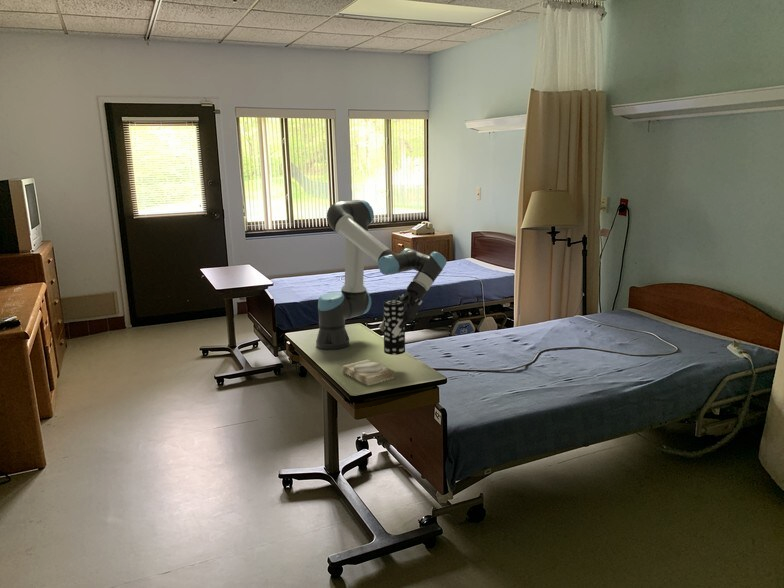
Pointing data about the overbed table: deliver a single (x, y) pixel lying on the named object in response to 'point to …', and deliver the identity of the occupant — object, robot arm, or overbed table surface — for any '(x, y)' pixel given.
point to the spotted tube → (391, 317)
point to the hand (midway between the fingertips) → (387, 331)
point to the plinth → (368, 372)
